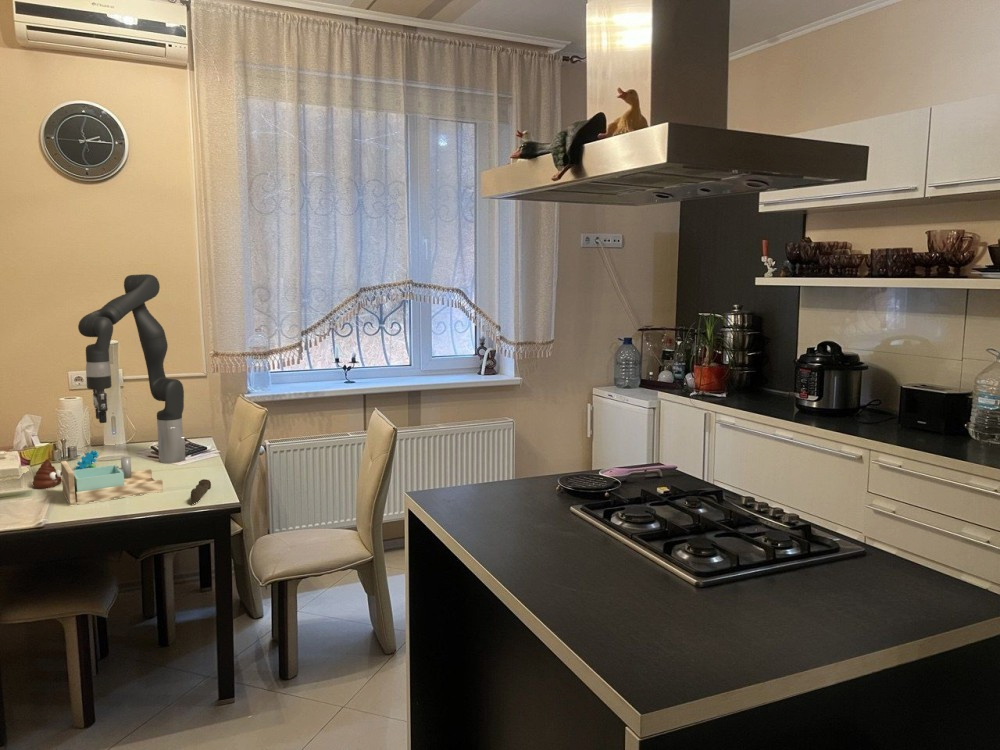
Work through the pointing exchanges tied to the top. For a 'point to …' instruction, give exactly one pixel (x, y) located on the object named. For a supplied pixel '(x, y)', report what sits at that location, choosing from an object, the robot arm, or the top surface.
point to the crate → (102, 476)
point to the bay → (132, 486)
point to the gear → (87, 461)
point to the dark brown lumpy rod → (200, 490)
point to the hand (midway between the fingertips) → (101, 420)
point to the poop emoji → (47, 476)
